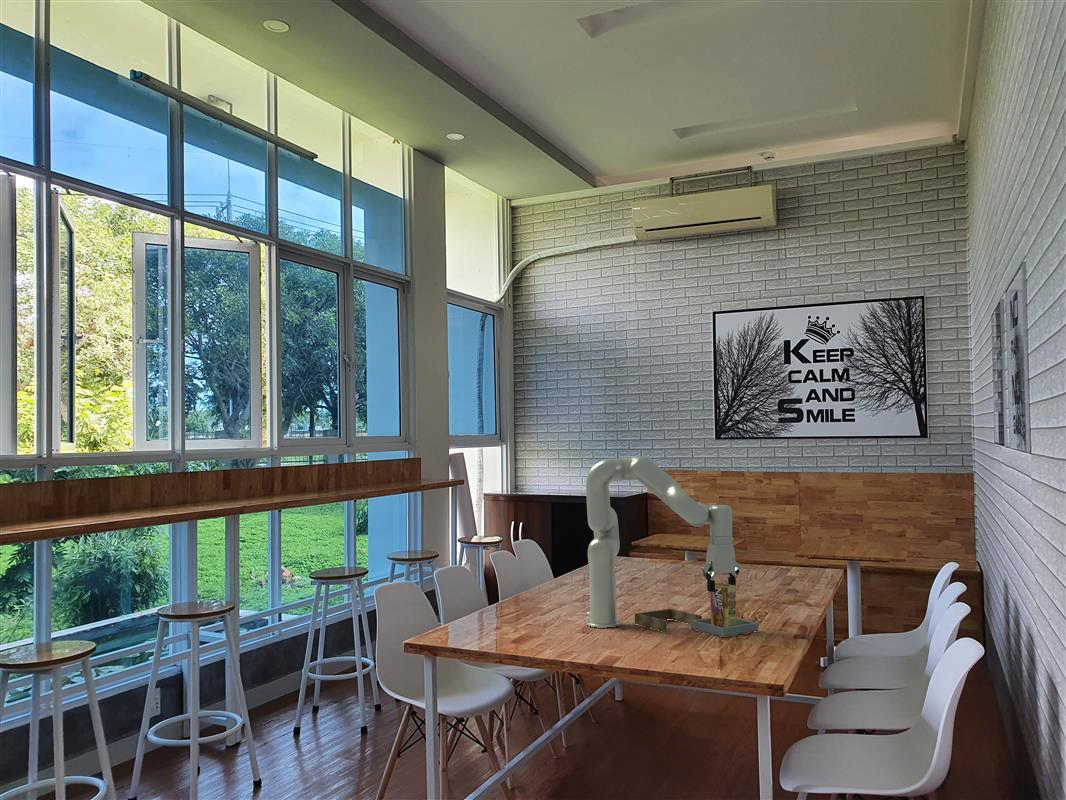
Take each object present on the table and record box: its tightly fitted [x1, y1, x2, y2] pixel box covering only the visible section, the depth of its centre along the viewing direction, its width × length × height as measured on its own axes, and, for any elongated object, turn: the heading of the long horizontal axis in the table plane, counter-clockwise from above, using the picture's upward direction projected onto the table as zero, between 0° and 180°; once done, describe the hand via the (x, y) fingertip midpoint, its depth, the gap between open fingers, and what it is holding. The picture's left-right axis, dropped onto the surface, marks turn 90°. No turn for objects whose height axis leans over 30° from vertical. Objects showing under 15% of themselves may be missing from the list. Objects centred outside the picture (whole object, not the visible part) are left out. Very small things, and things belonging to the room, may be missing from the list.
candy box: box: [709, 581, 737, 628], centre depth 282 cm, size 9×4×15 cm, turn 30°
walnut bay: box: [634, 607, 703, 633], centre depth 291 cm, size 16×17×4 cm
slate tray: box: [690, 617, 759, 638], centre depth 282 cm, size 16×16×3 cm
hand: (721, 590), depth 283 cm, fingers open, 9 cm apart
